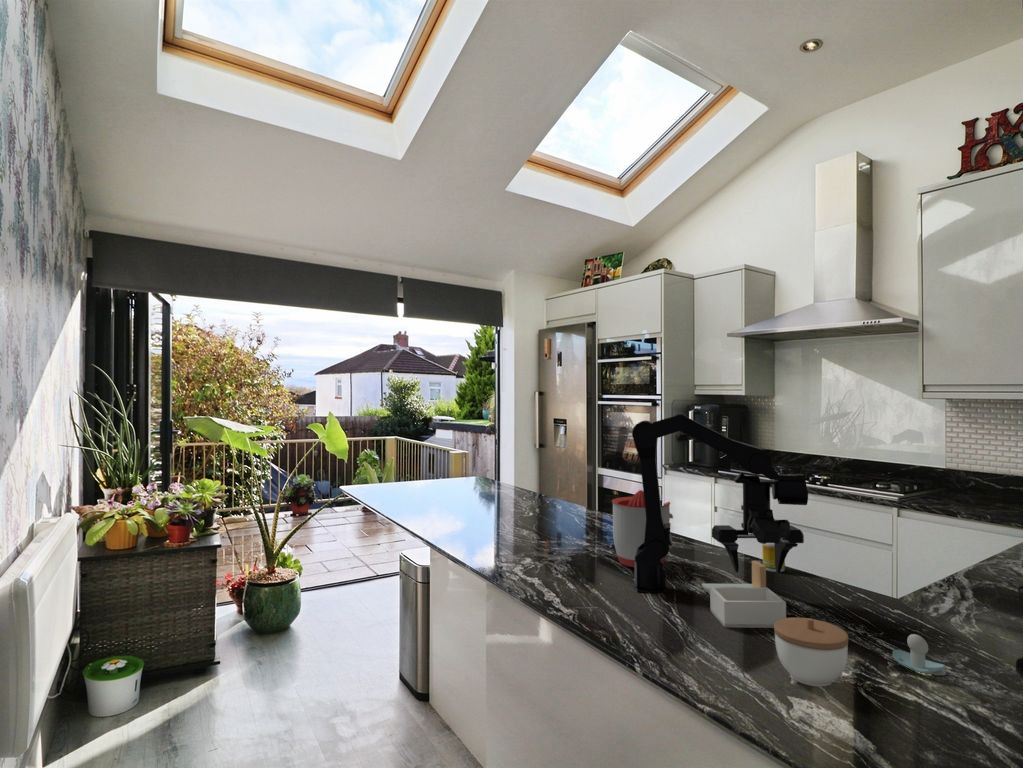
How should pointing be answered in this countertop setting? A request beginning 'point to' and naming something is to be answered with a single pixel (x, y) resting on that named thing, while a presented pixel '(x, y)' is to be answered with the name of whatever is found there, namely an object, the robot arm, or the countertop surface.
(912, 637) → the pacifier
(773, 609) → the tub
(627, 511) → the citrus juicer
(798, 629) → the lidded jar
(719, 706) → the countertop surface
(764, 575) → the lid
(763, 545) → the supplement bottle
